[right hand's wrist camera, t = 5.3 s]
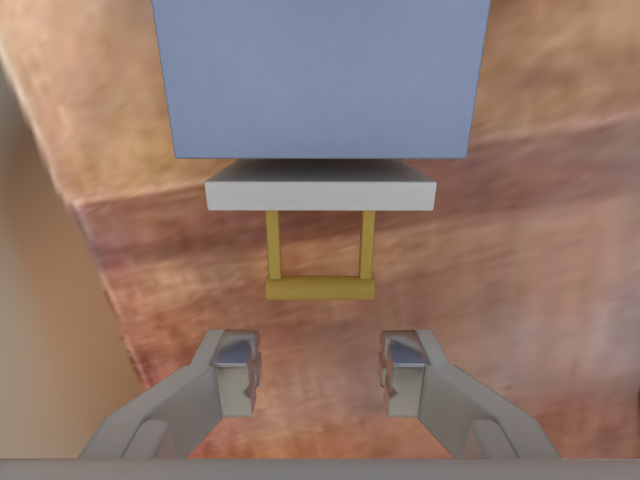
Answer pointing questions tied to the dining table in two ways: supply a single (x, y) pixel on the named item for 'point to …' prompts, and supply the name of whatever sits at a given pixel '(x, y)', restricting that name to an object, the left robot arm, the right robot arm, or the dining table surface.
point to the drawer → (320, 209)
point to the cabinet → (320, 77)
